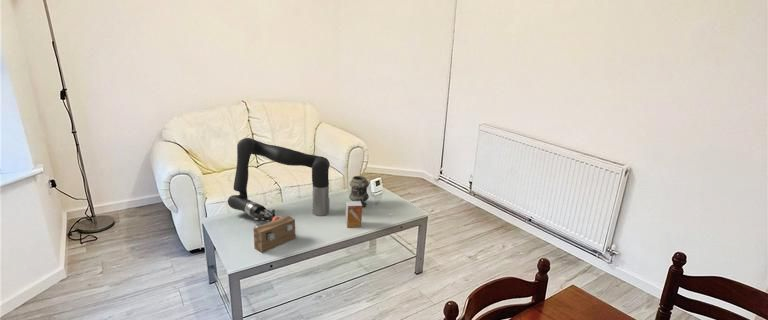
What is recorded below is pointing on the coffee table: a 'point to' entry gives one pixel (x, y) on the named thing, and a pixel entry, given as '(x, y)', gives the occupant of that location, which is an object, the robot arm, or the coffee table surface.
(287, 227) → the red plunger
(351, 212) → the small box
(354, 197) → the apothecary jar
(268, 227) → the walnut housing
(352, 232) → the coffee table surface
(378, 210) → the coffee table surface
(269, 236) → the grey plunger
